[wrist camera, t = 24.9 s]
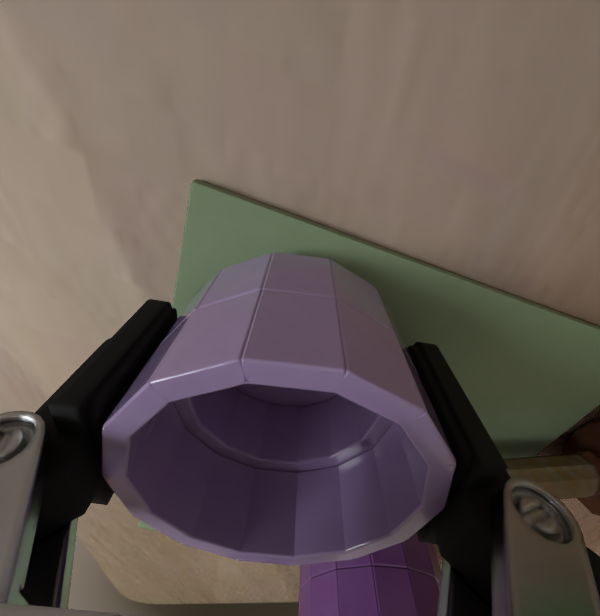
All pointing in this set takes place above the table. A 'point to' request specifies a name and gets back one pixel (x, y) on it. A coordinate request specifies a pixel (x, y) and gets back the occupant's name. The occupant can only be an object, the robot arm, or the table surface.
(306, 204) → the table surface
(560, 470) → the knife
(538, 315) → the placemat
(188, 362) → the lilac dish
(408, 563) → the plum dish
